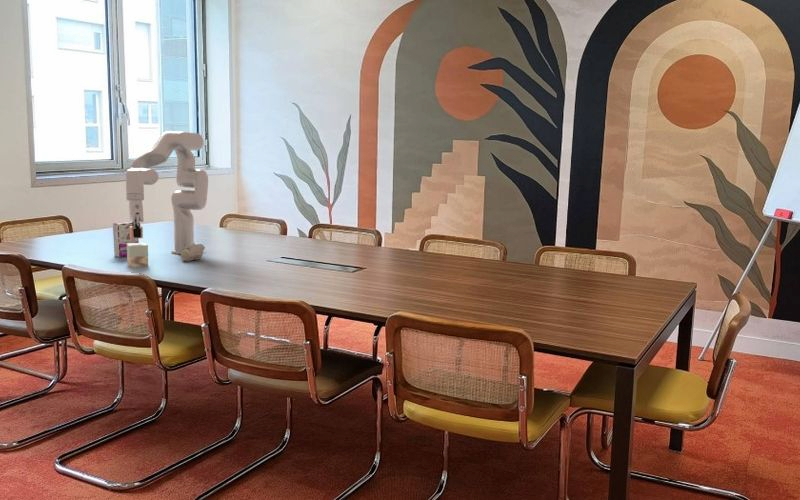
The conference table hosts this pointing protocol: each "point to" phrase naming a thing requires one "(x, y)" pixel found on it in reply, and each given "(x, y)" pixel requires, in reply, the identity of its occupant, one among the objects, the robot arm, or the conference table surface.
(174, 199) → the robot arm
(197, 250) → the fossil replica
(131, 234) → the terracotta cube
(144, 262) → the tower bottom
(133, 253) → the tower top
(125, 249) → the candy bar box
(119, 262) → the conference table surface
